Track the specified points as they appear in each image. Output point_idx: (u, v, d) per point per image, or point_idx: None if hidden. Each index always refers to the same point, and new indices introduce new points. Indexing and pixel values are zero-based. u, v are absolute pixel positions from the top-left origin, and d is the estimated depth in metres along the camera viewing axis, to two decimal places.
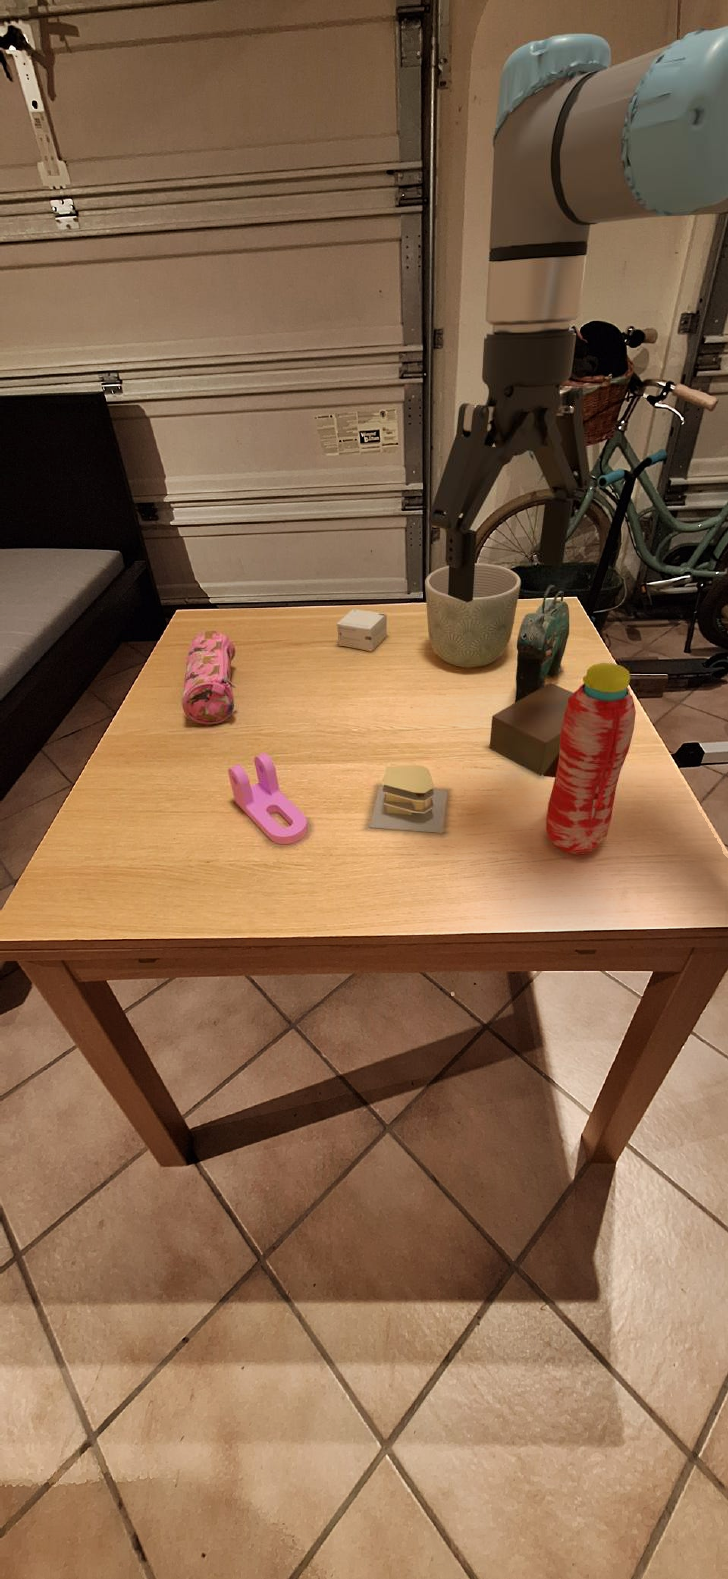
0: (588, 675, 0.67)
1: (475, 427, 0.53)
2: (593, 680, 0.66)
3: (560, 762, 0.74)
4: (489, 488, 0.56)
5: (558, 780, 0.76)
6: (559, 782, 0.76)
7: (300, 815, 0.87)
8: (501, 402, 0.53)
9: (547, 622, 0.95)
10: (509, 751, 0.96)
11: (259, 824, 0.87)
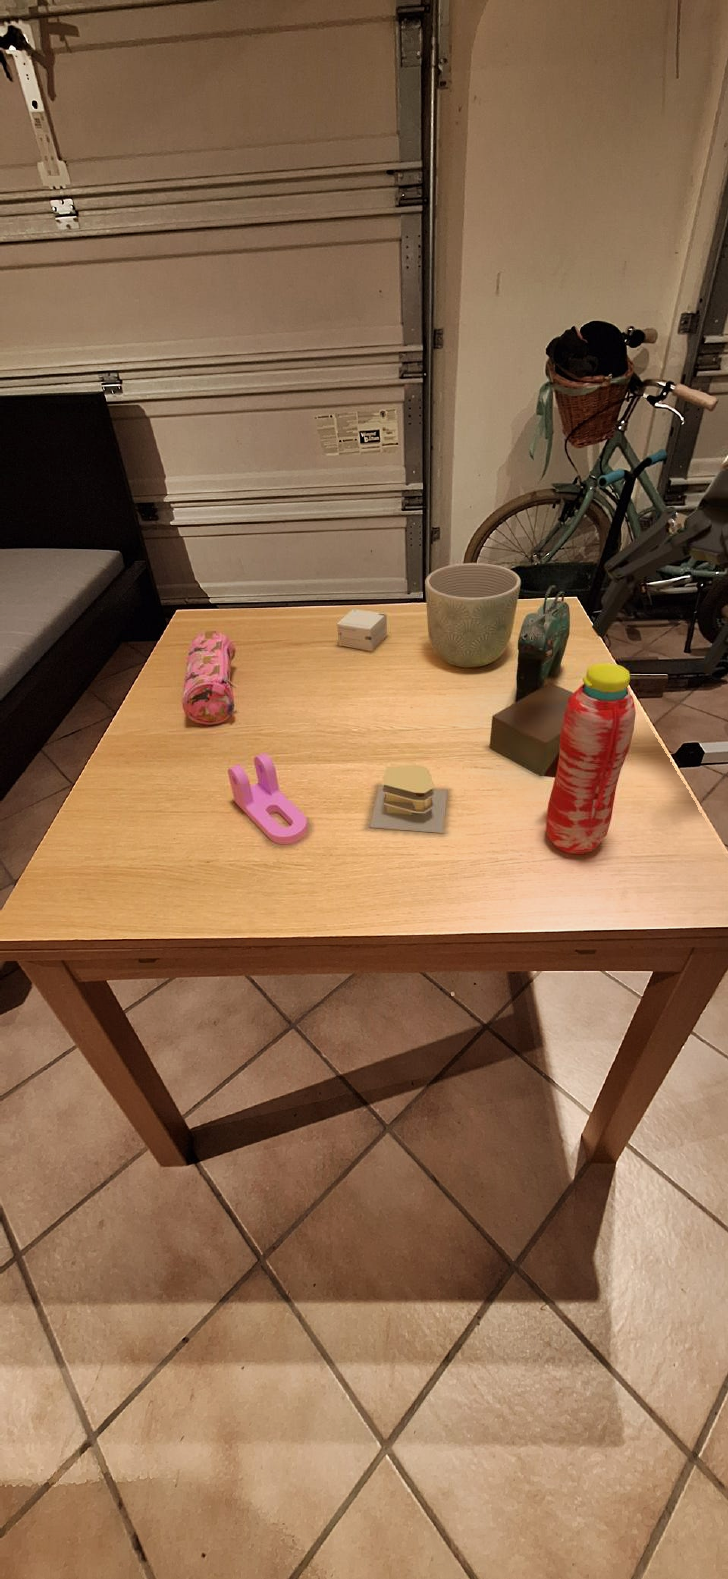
0: (588, 675, 0.67)
1: (660, 518, 0.76)
2: (593, 680, 0.66)
3: (560, 762, 0.74)
4: (652, 558, 0.75)
5: (558, 780, 0.76)
6: (559, 782, 0.76)
7: (300, 815, 0.87)
8: None
9: (548, 623, 0.95)
10: (509, 751, 0.96)
11: (259, 824, 0.87)
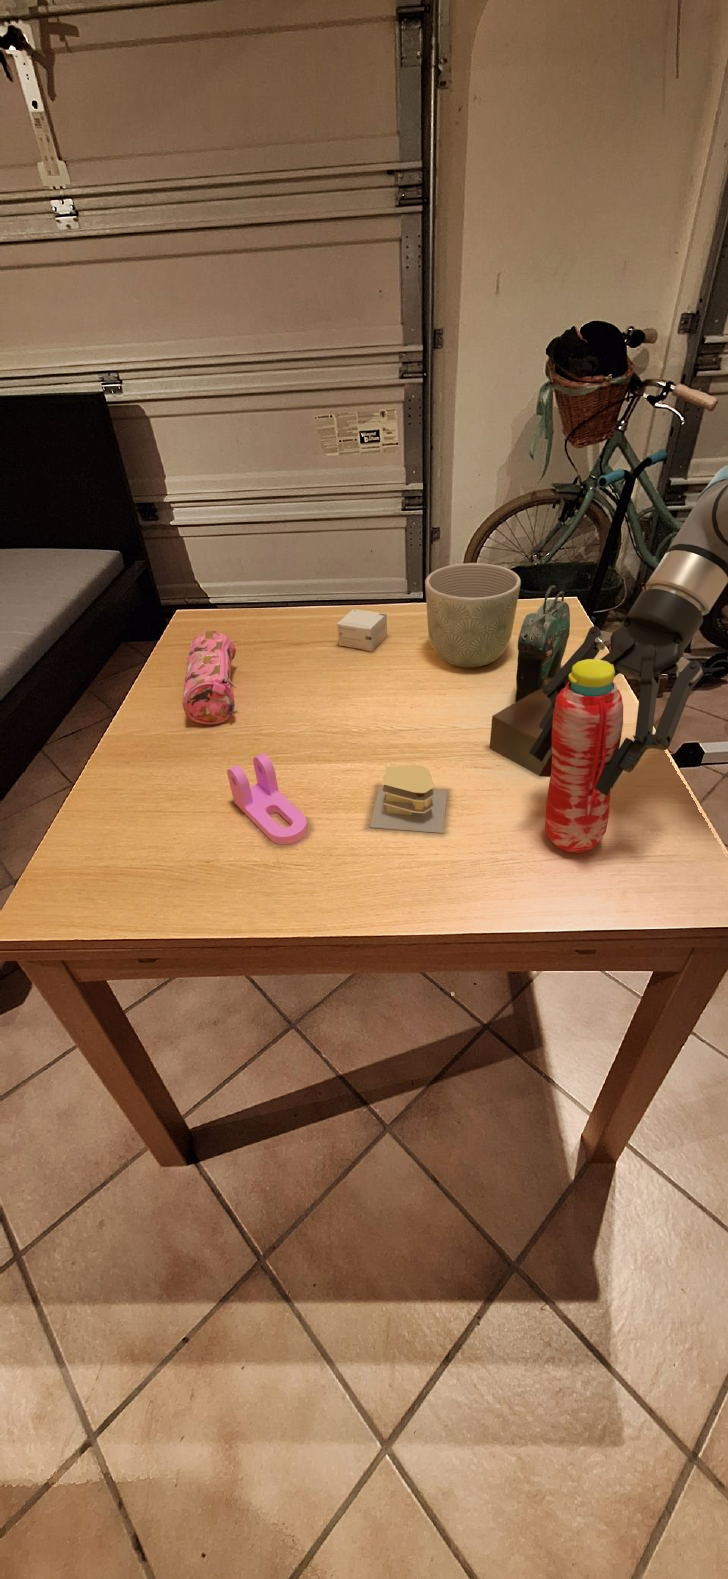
0: (573, 672, 0.68)
1: (586, 638, 0.76)
2: (577, 676, 0.67)
3: (553, 760, 0.74)
4: None
5: (552, 778, 0.76)
6: (553, 781, 0.76)
7: (300, 815, 0.87)
8: None
9: (548, 623, 0.95)
10: (509, 751, 0.96)
11: (259, 824, 0.87)
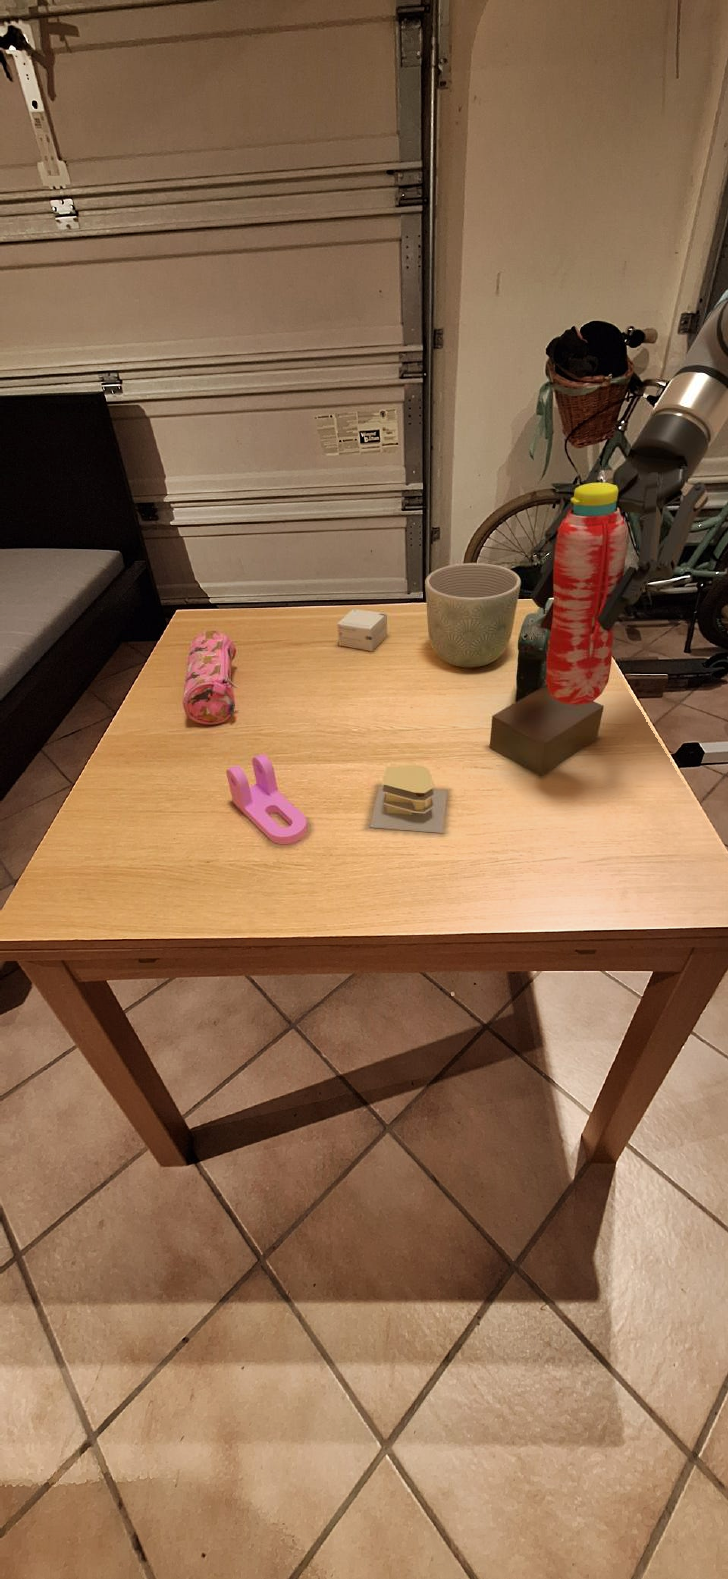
0: (575, 492, 0.66)
1: (588, 479, 0.75)
2: (580, 496, 0.65)
3: (554, 599, 0.73)
4: None
5: (554, 621, 0.74)
6: (555, 623, 0.74)
7: (299, 815, 0.87)
8: None
9: None
10: (509, 751, 0.96)
11: (258, 825, 0.87)
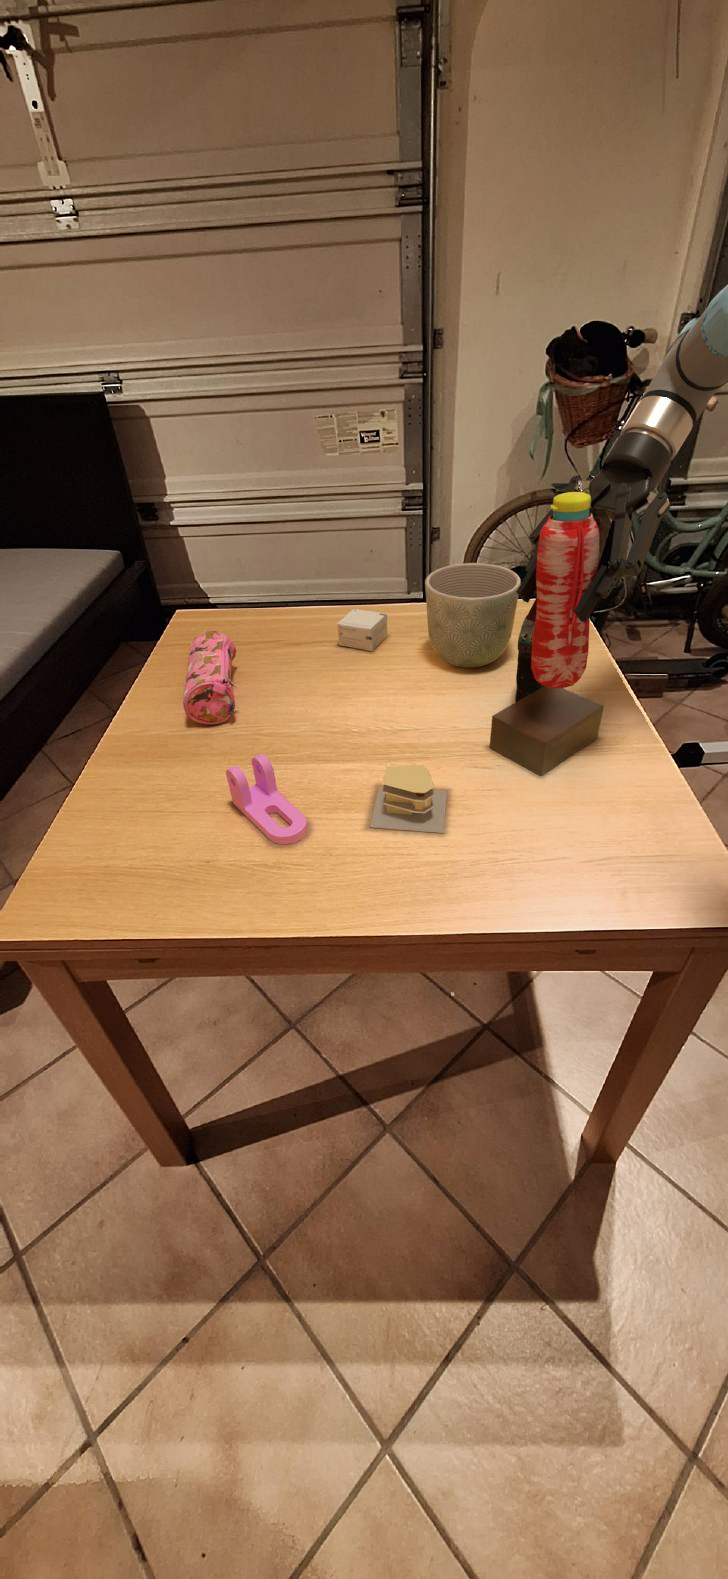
0: (554, 500, 0.76)
1: (567, 488, 0.85)
2: (558, 503, 0.75)
3: (537, 594, 0.83)
4: None
5: (537, 613, 0.84)
6: (538, 615, 0.84)
7: (299, 815, 0.87)
8: None
9: None
10: (509, 751, 0.96)
11: (258, 825, 0.87)
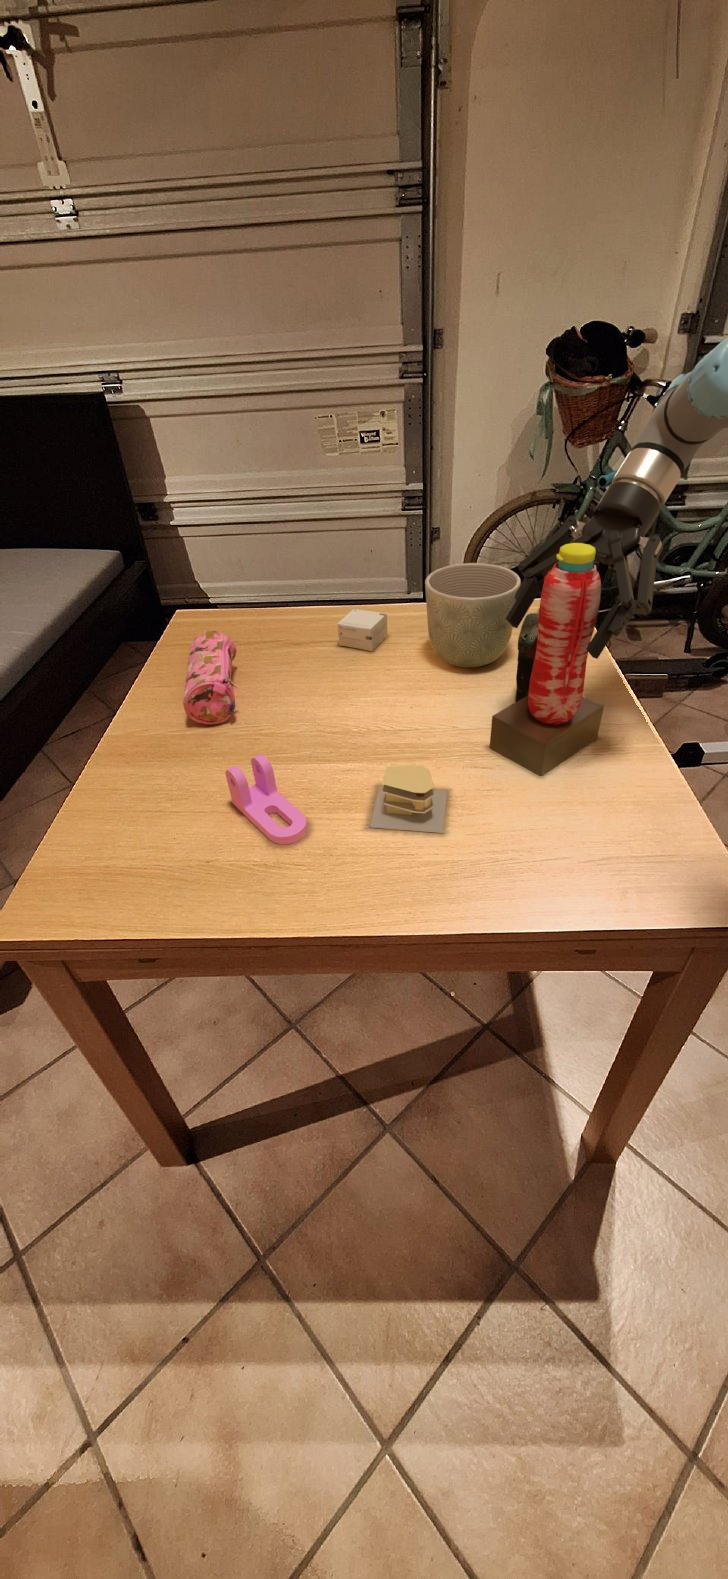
0: (560, 551, 0.79)
1: (563, 525, 0.88)
2: (564, 554, 0.78)
3: (538, 636, 0.86)
4: (556, 560, 0.87)
5: (537, 653, 0.88)
6: (537, 656, 0.88)
7: (299, 815, 0.87)
8: (589, 520, 0.86)
9: None
10: (509, 751, 0.96)
11: (258, 825, 0.87)
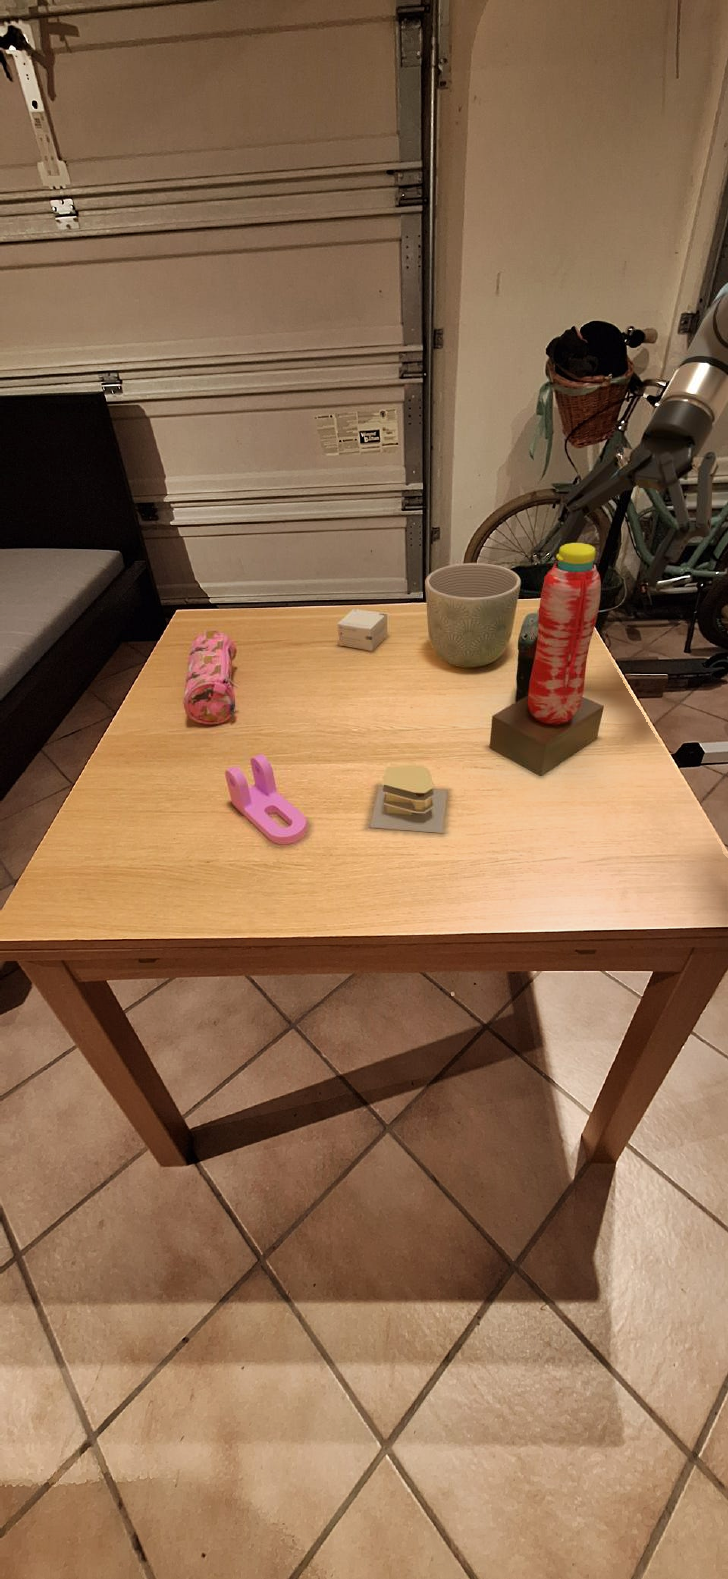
0: (560, 551, 0.79)
1: (609, 454, 0.85)
2: (564, 554, 0.78)
3: (538, 636, 0.86)
4: (603, 489, 0.84)
5: (537, 653, 0.88)
6: (537, 655, 0.88)
7: (299, 815, 0.87)
8: (636, 446, 0.83)
9: None
10: (509, 751, 0.96)
11: (258, 825, 0.87)
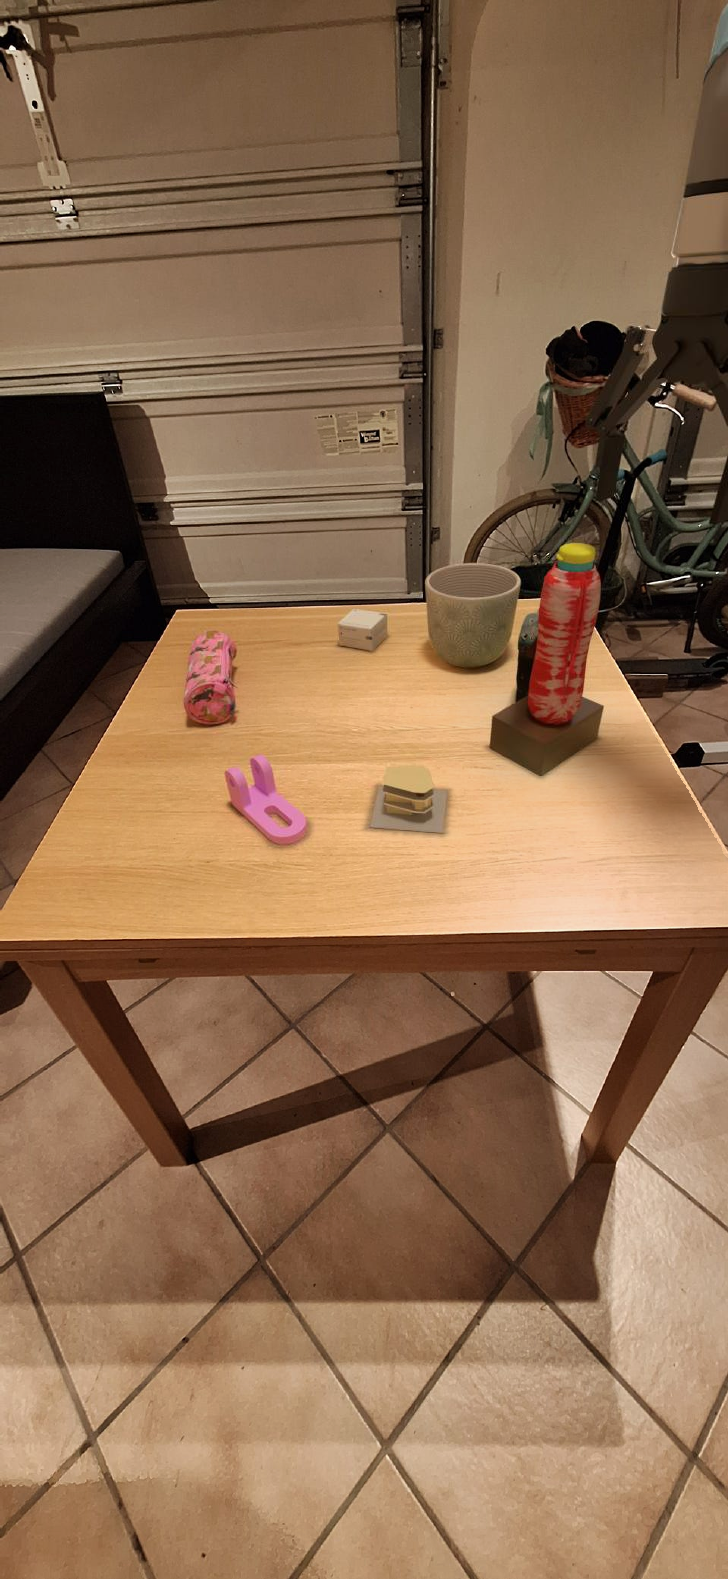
0: (560, 551, 0.79)
1: (625, 345, 0.64)
2: (563, 554, 0.78)
3: (538, 636, 0.86)
4: (630, 403, 0.66)
5: (537, 653, 0.88)
6: (537, 655, 0.88)
7: (299, 815, 0.87)
8: (657, 328, 0.62)
9: None
10: (509, 751, 0.96)
11: (258, 825, 0.87)
